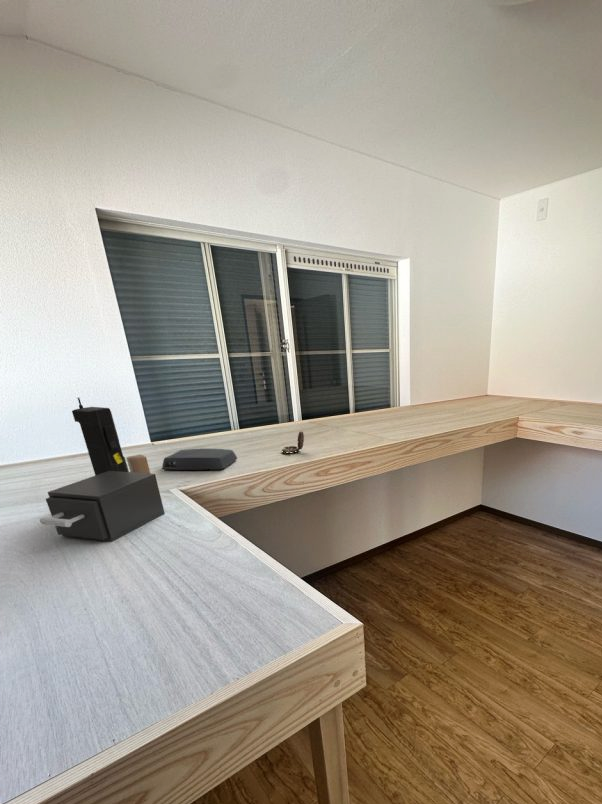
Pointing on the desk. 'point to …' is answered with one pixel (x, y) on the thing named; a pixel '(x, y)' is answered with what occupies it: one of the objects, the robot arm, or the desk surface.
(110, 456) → the portable radio
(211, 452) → the hard drive
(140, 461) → the wooden block
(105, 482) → the air fryer
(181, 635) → the desk surface
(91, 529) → the fryer drawer
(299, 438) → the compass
